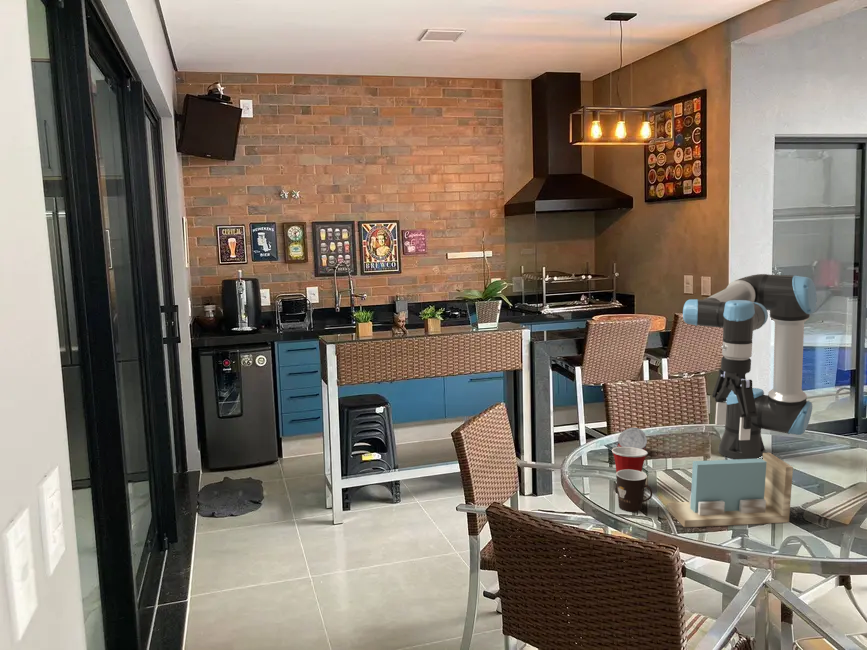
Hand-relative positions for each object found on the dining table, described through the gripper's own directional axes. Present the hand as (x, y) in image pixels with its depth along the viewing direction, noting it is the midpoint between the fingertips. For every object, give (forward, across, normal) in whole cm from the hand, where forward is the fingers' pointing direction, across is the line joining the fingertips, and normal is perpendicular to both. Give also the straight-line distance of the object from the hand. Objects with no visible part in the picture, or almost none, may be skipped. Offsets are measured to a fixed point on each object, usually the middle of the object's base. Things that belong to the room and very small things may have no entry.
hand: (731, 431), depth 206 cm
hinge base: (+25, 0, 0) cm, 25 cm away
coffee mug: (+25, -7, -25) cm, 36 cm away
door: (+23, 0, 0) cm, 23 cm away
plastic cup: (+25, -24, -20) cm, 40 cm away
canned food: (+25, -54, -8) cm, 60 cm away
